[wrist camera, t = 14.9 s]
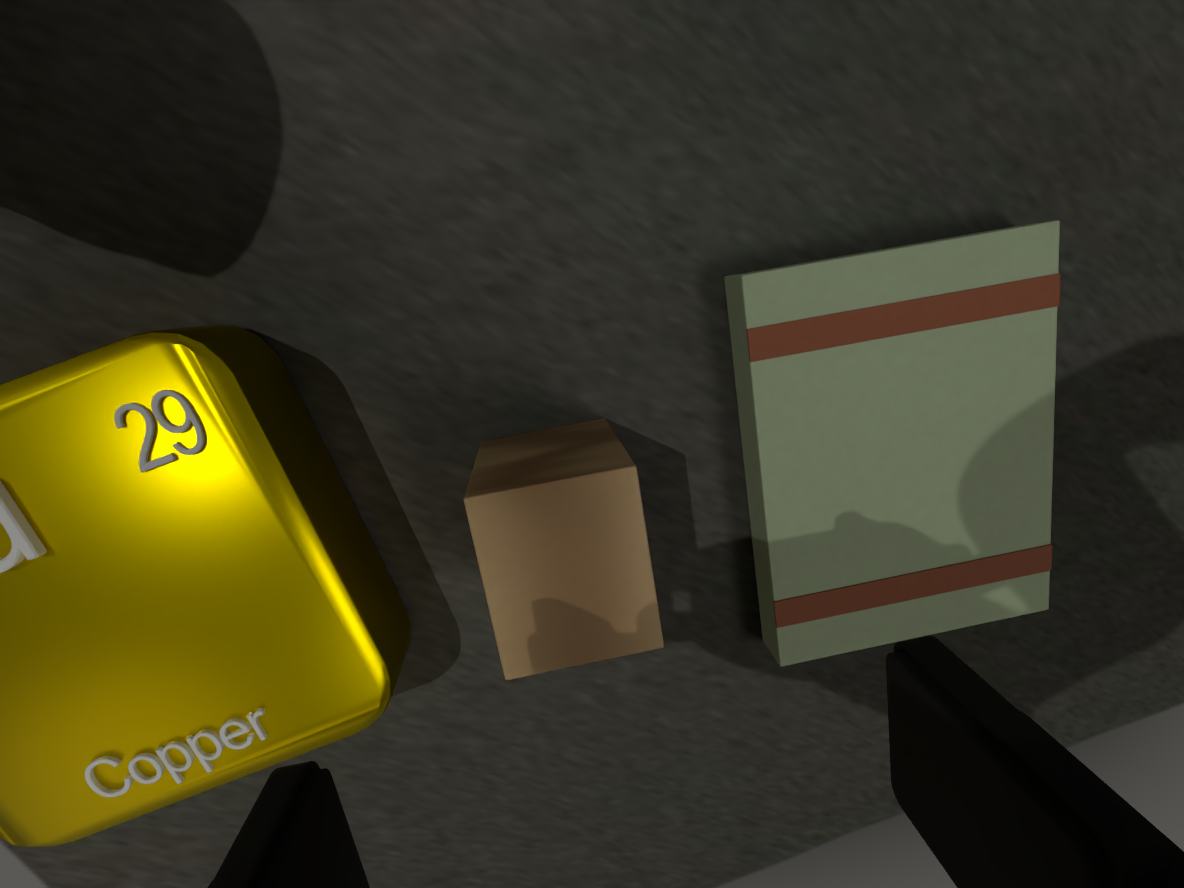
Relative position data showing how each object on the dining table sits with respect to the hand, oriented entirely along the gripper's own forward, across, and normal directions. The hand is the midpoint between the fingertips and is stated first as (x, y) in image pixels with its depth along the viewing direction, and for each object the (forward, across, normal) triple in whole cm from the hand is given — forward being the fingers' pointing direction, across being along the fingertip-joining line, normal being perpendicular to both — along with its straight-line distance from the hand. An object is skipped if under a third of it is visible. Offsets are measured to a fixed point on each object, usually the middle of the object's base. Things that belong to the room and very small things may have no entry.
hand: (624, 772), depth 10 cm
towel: (+15, -13, +1) cm, 20 cm away
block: (+15, +1, +1) cm, 15 cm away
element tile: (+15, +16, 0) cm, 22 cm away
